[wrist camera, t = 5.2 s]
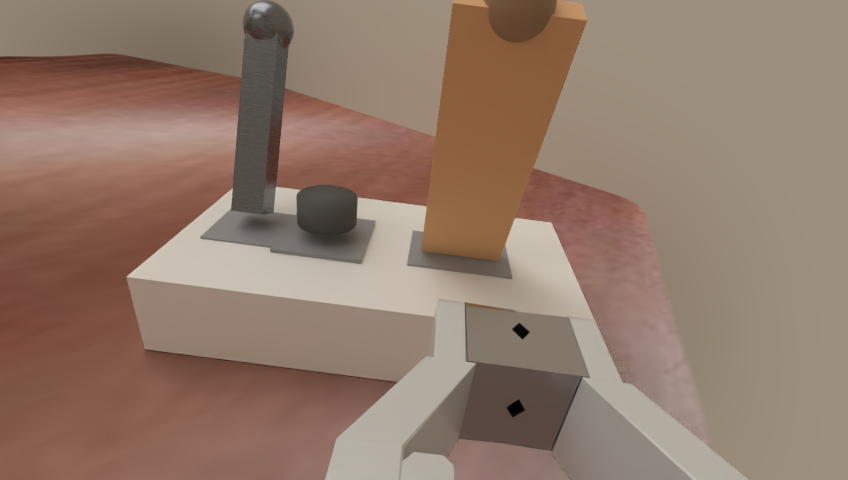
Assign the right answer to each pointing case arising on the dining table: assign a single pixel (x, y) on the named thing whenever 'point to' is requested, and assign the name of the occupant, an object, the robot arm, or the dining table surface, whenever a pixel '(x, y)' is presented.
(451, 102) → the paddle lever
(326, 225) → the push button
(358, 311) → the console
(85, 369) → the dining table surface
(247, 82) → the toggle lever
